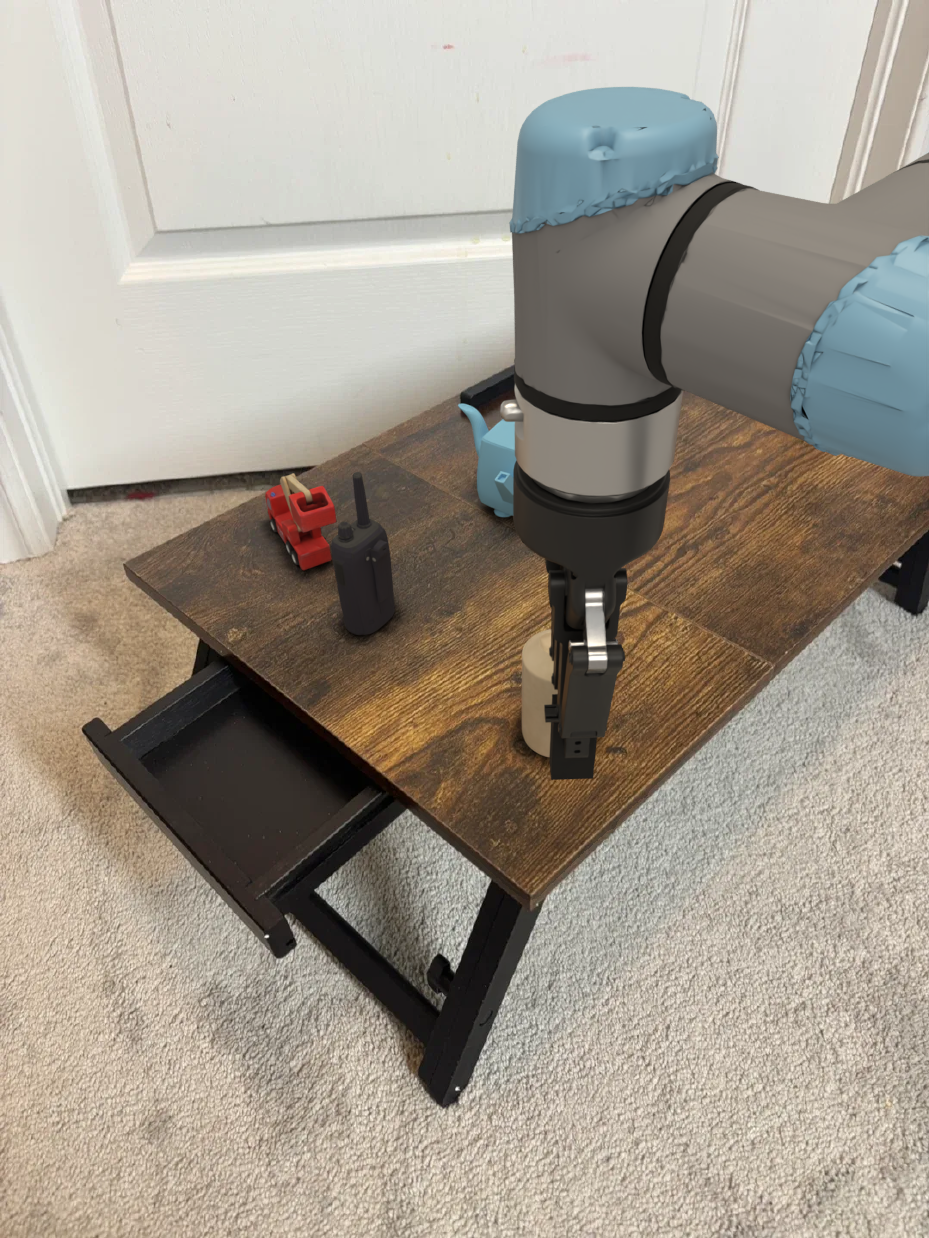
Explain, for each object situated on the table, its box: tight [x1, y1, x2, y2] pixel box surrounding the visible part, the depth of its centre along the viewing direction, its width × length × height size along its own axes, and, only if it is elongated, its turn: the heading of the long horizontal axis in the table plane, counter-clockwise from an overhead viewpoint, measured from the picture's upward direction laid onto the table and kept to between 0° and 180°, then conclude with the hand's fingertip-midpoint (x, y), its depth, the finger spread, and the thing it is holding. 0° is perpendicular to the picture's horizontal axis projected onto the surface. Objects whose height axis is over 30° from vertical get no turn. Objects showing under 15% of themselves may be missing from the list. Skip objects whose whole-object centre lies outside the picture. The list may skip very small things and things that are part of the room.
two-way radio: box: [330, 471, 396, 636], centre depth 78 cm, size 6×4×15 cm
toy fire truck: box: [264, 473, 337, 571], centre depth 88 cm, size 3×14×10 cm, turn 28°
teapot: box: [457, 403, 516, 518], centre depth 92 cm, size 18×14×10 cm
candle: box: [521, 628, 558, 758], centre depth 70 cm, size 6×6×10 cm
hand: (571, 769), depth 60 cm, fingers closed
